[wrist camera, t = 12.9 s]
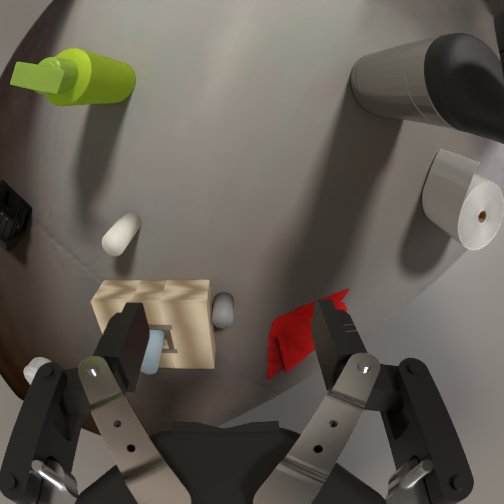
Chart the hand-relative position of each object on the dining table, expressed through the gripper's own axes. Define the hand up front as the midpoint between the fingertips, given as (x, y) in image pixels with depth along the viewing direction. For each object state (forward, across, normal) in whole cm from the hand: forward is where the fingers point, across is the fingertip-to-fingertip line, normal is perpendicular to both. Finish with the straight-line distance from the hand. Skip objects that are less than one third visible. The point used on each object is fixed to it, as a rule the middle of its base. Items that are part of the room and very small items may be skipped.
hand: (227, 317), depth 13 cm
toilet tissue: (+28, -34, +1) cm, 44 cm away
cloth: (+29, -12, +29) cm, 43 cm away
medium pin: (+28, +15, +6) cm, 32 cm away
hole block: (+28, +13, +23) cm, 39 cm away
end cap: (+28, +39, +2) cm, 48 cm away
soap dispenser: (+28, +15, -14) cm, 35 cm away
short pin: (+28, +2, +20) cm, 35 cm away
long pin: (+28, +13, +23) cm, 39 cm away
